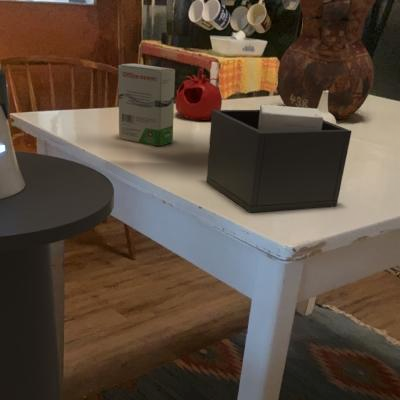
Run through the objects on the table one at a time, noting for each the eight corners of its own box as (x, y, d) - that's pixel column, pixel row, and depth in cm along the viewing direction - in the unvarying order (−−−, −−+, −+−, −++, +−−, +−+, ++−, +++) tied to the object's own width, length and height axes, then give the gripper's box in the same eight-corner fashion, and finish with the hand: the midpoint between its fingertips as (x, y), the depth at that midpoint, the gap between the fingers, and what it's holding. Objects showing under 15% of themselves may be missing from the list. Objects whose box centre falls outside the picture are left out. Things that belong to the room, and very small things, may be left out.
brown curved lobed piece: (259, 103, 146) (273, -19, 133) (335, 105, 152) (357, -12, 139) (298, 124, 129) (319, -15, 115) (383, 125, 135) (413, -7, 121)
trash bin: (250, 212, 78) (259, 133, 73) (206, 181, 88) (211, 110, 83) (336, 205, 83) (351, 130, 78) (285, 177, 93) (296, 109, 88)
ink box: (174, 142, 107) (177, 67, 101) (159, 147, 103) (162, 70, 97) (132, 133, 110) (133, 61, 104) (117, 138, 106) (116, 63, 100)
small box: (306, 186, 87) (319, 108, 81) (310, 198, 82) (325, 116, 77) (250, 182, 87) (260, 103, 81) (252, 193, 82) (262, 111, 76)
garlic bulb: (332, 131, 125) (339, 89, 121) (336, 137, 120) (344, 94, 116) (301, 128, 125) (308, 86, 121) (304, 135, 120) (311, 91, 116)
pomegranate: (203, 111, 133) (206, 64, 128) (230, 121, 126) (234, 72, 121) (164, 113, 128) (166, 64, 123) (190, 123, 121) (193, 72, 116)
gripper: (171, -120, 75) (198, -22, 73) (311, -99, 82) (338, -10, 80) (157, -74, 80) (181, 17, 78) (289, -59, 88) (314, 25, 86)
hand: (262, 4), depth 79 cm, fingers open, 8 cm apart
